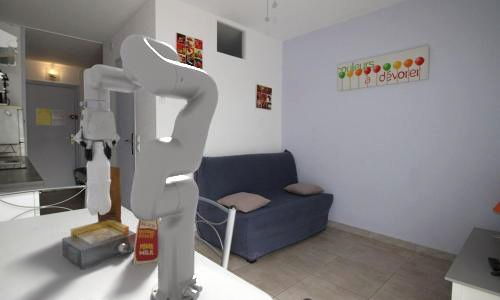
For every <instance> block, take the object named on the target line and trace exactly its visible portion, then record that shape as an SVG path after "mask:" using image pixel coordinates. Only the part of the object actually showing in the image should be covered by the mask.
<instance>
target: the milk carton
mask: <svg viewBox="0 0 500 300" xmlns="http://www.w3.org/2000/svg"><path fill="white" fill-rule="evenodd" d="M160 220H161V218H159V219H156V220H152V221H141V220H139V219H138V221H137V226H136V231H135V233H136V237H135V245H134V250H133V265H140V264H149V263H158V227H159V223H160Z"/></svg>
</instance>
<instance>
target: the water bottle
mask: <svg viewBox="0 0 500 300" xmlns="http://www.w3.org/2000/svg"><path fill="white" fill-rule="evenodd" d="M104 146H105V145H104V141H92V147H91V149H92V158H93V160H92V161H87V162H86V166H85V167H86V186H87V190H88V199H87V209H88V212H89V214H90V215H91V216H97V213H98V212H99V213H100V215H104V214H106V213H107V212H109V211H110V208H111V200H110V194H109V189H110V183H111V180H110V166H111V162H110V160H108V159H107V157H106V155H105V154H104V148H105V147H104Z"/></svg>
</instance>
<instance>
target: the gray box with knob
mask: <svg viewBox="0 0 500 300" xmlns="http://www.w3.org/2000/svg"><path fill="white" fill-rule="evenodd" d="M135 237H136V232H134V231H132V230H130V226H128V225H126V224H124V223H119V222H117V221H115V220H109V219H108V220H104V221H100V222H98V221H97V222H94V223H89V224H84V225H82V226H77V227H74V228H70V235H69V236H67V237H63V238H61V244H62V245H61V246H62V248H61V249H62V257H64V258H65V259H66V260H68V261H70V262H71V263H72V264H73V265H75V266H76V267H77V268H79V270H85V269H87V268H88V269H89V268H90V267H93V266H96V265H98V264H101V263H104V262H106V261H109V260H111V259H114V258H117V257H120V256H122V255H125V254H127V253H130V252H134V245H135Z"/></svg>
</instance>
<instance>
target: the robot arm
mask: <svg viewBox="0 0 500 300" xmlns="http://www.w3.org/2000/svg"><path fill="white" fill-rule="evenodd" d="M119 50H120V51H119V52H120V54H119V55H120V58H121V66H122V67H121V68H119V67H116V66H109V65H105V64H100V63H99V64H94V65H93V66H92V67H91V68H86V69H85V70H84V71H83V101H80V102H79V106H80V107H83V109H82V110H81V115H80V123H79V131H78V132H76V134H75V135H74V136H73V137H72V139H73V141H75V143H78V145H80V146H81V147H82V148H83V149H84V159H85V160H86V161H87V162H88V161H92V160H93V158H92V152H93V149H92V145H93V142H94V141H103V144H104V146H105V147H103V148H104V149H103V151H104V154H105V155H106V157H107V159H108V160H109V161H110V160H111V157H112V149H113V147H114V145H116V143H117V142H119V141H120V140H121V137H120V135H119V134H118V133H117V128H116V122H115V120H116V119H115V116H114V112H113V111H111V98H110V97H111V95H110V93H111V91H114V92H119V93H127V94H129V93H136V92H139V91H142V90H144V89H145V90H146V91H147V92H148V93H150V94H151V95H154V96H156V97H161V98H169V99H176V100H183V101H186V102H187V103H186V104H185V105H184V106H183V107H182V108H181V109H180V111H179V112H178V113H177V115H176V118H175V119H174V126H173V130H172V133H171V135H170V136H168V137H153V138H151V139H148V140H147V141H145V143H143V144H142V146H141V148H140V149H139V151H138V154H137V158H136V162H135V168H134V169H135V170H134V174H133V180H132V186H131V191H130V198H129V199H130V204H129V205H130V209H131V212H132V215H133V216H134V217H135V218H136V219H137V220H138V221H139V220H141V221H152V220H156V219H159V218H160V223H159V227H158V262H157V282H156V283H155V284H154V285H153V286H152V289H151V296H152V298H153V300H198V299H199V296H200V292H202V291H203V286H201V282H200V280H199V279H198V275H197V276H196V275H195V246H196V245H195V241H196V240H195V239H196V238H195V234H196V233H195V231H196V226H195V225H196V213H197V207H198V203H199V196H200V195H199V194H200V191H199V187H198V184H197V183H196V181H195V180H194V179H193V178H192V177H191V176H187V175H190V174H193V173H196V171H198V170H199V168H200V166H201V164H202V161H203V156H204V152H205V147H206V143H207V140H208V135H209V132H210V131H209V130H210V126H211V124H212V120H213V117H214V115H215V112H216V109H217V105H218V101H219V91H218V90H219V89H218V85H217V83H216V81H215V80H214V78H213V77H212V76H211V75H210V74H209V73H208V72H206V71H204V70H202V69H200V68H197V67H195V66H191V65H188V64H185V63H181V62H180V56H179V54H178V52H177V51H176V50H175V49H174V48H173V46H171V45H170V44H168V43H165V42H164V41H160V40H157V39H154V38H152V37H148V36H146V35H142V34H140V33H139V34H131V35H128V36H127V37H126V38H125V39H124V40H123V41H122V43H121V45H120V49H119Z"/></svg>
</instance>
